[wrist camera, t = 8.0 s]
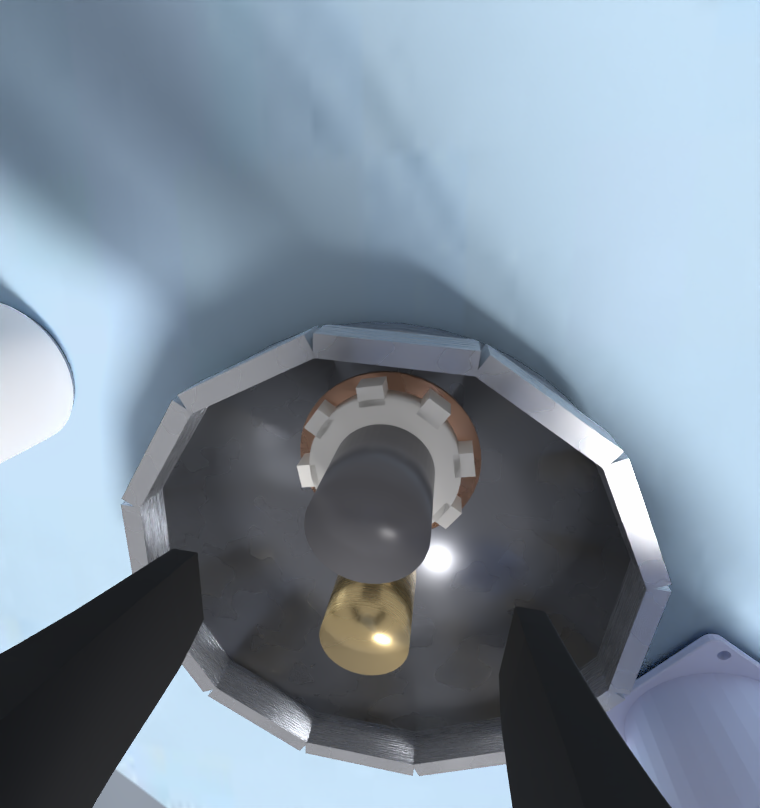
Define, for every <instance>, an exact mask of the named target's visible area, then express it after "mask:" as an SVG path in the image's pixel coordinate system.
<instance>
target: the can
mask: <svg viewBox="0 0 760 808" xmlns="http://www.w3.org/2000/svg"><path fill="white" fill-rule="evenodd" d="M73 402H74V380H73V376H72V372H71V369H70V366H69V364H68V361H67V359H66V357H65V355H64V353H63V352H62V350H61V349H60V347H59V346H58V344H57V343H56V342H55V340H54V339H53V338H52V337H51V336H50V334H49V333H48V332H47V331H46V330H45V329H44V328H42V327H41V326H40V325H39V324H38V323H36V322H35V321H34V320H32V319H31V318H29V317H28V316H26V315H24V314H23V313H21V312H19V311H18V310H16V309H14V308H12V307H10V306H7V305H5V304H2V303H0V463H2V462H4V461H6V460H8V459H10V458H12V457H14V456H16V455H18V454H20V453H22V452H24V451H25V450H27V449H29V448H31V447H33V446H35V445H37V444H39V443H41V442H42V441H44V440H46V439H48V438H50V437H51V436H53V435H55V434H56V433H57V432H59V431H60V430H61V429H62V428H63V427H64V425H65V424H66V422H67V421H68V419H69V417H70V414H71V411H72V407H73Z"/></svg>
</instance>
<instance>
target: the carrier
mask: <svg viewBox="0 0 760 808" xmlns="http://www.w3.org/2000/svg"><path fill="white" fill-rule="evenodd" d="M384 376H386V377H387V383H388V390H397V391H402V392H406V393H409V394H412V395H415V396H417V397H419V398H421V399H422V398H423V396H424V395H425V394H426V393H427V392H428V391H429V389H430V388H431V389H432V390H433V391H435V392H436V393H437V394H439V395H440V396H441V397H443V398H444V399H445V400H447V401H448V402H449V403H451V415H450V416H449V417H448V418H447V420H448V422H449V423H450V425H451V426H452V428H453V430H454V432H455V434H456V436H457V439H458V441H468V440H472V444H473V454H474V464H475V475H476V477H461V483H460V487H459V490H458V493H457V495H458V496H459V497H460V498H461V505H462V514H461V515H460V516H459V517H458V518H457V519H456V520H455V521H454V522H453V523H452V524H451V525H450V526H449V527H448V528H446V529H445V528H443V527H442V526H441V525H439V524H438V523H436V522H434V523H432V528H431V541H430V547H429V551H428V553H427V555H426V558H425V559H424V561H423V562H422V564H421V565H420V566H419V567H418V568H417V569H416V570H415V571H413V572H412V573H411V574H409V575H408V576H406V577H404V578H402V579H400V580H397V581H393V582H389V583H383V584H367V583H360V582H356V581H352V580H350V579H347V578H344V577H342V576H340V575H338V574H336V573H335V572H333V571H331V570H330V569H329V568H328V567H326V566H325V565H324V564H323V563H322V562H321V561H320V560H319V559H318V558H317V557H316V555H315V554H314V553H313V551H312V550H311V548H310V546H309V544H308V541H307V538H306V535H305V530H304V518H305V513H306V509H307V507H308V505H309V503H310V501H311V499H312V497H313V495H314V493H315V491H316V489H315V487H302V486H301V482H300V478H299V473H298V469H297V465H298V463H299V461H300V460H301V458H302V457H303V455H304V454H305V453H310V450H311V446H312V443H313V440H314V438H315V435H313V434H312V433H310V432H309V431H308V430H306V429H305V428H304V427H305V425H306V424H307V423H308V421H309V420H310V419H311V417H312V416H313V415H314V413H315V412H316V410H317V409H318V408H319V406H320V405H321V404H322V402H323V401H324V400H325V399H326V400H327V401H328V402H330V403H331V404H333V405H334V406H335V407H337V406H338V405H339V404H340V403H342V402H343V401H345V400H346V399H348V398H350V397H352V396H354V395H356V394H357V393H356V387H357V385H358V384H359V382H360V380H361V379H365V378H375V377H384ZM122 499H123V500H125V502H124V503H122V504H121V508H122V514H123V520H124V526H125V532H126V538H127V544H128V550H129V556H130V562H131V568H132V574H133V573H135V572H136V571H138V570H140V569H141V568H143V567H144V566H146V565H147V564H149V563H150V562H152V561H154V560H155V559H157V558H158V557H160V556H161V555H163V554H165V553H166V552H168V551H170V550H171V549H173V548H174V549H180V550H186V551H192V552H197V553H198V562H199V572H200V583H201V593H202V604H203V614H204V620H203V622H202V625H201V627H200V629H199V631H198V633H197V635H196V637H195V639H194V641H193V643H192V645H191V647H190V649H189V651H188V653H187V655H186V657H185V659H184V661H183V663H182V665H183V666H184V667H185V669H186V670H187V671H188V673H189V674H190V675H191V677H192V678H193V679H194V680H195V682H196V683H197V684H198V686H199V687H200V688H201V689H202V691H203V692H204V691H209V690H211V691H210V693H209V695H208V696H209V697H211V698H212V699H214V700H216V701H218V702H219V703H221V704H223V705H224V706H226V707H228V708H229V709H231V710H233V711H234V712H236V713H238V714H239V715H241V716H243V717H244V718H246V719H248V720H249V721H251V722H253V723H254V724H256V725H258V726H259V727H261V728H263V729H264V730H266V731H268V732H269V733H271V734H273V735H274V736H276V737H278V738H279V739H281V740H283V741H284V742H286V743H288V744H289V745H291V746H293V747H295V748H296V749H298V750H301V749H302V748H303V747H304V746H305V745H306V753H308V754H313V755H318V756H322V757H327V758H332V759H336V760H341V761H346V762H351V763H355V764H360V765H365V766H369V767H374V768H379V769H383V770H388V771H393V772H397V773H402V774H407V775H412V776H413V770H414V769H415V770H416V772H417V774H418V775H419V776H423V775H430V774H437V773H445V772H452V771H459V770H466V769H474V768H481V767H488V766H496V765H503V764H506V758H505V751H504V744H503V737H502V730H501V714H500V692H499V671H500V667H501V663H502V659H503V655H504V651H505V646H506V642H507V638H508V634H509V630H510V626H511V622H512V618H513V613H514V609H515V606H517V607H523V608H529V609H535V610H540V611H545V612H546V614H547V615H548V616H549V618H550V620H551V621H552V623H553V625H554V627H555V629H556V630H557V632H558V634H559V636H560V638H561V639H562V641H563V643H564V645H565V646H566V648H567V650H568V652H569V653H570V655H571V657H572V658H573V660H574V662H575V663H576V665H577V667H578V669H579V670H580V672H581V674H582V675H583V677H584V679H585V680H586V682H587V683H588V685H589V687H590V688H591V690H592V692H593V693H594V695H595V696H596V698H597V699H598V701H599V703H600V704H601V706H602V707H603V709H604V710H605V712H607V711H609V710H610V709H612V708H613V707H615V706H616V705H618V704H620V703H621V702H623V701H624V700H625V698H624V695H623V694H627V695H630V693H631V690H632V688H633V685H634V683H635V680H636V678H637V675H638V673H639V671H640V668H641V666H642V663H643V661H644V658H645V656H646V653H647V651H648V648H649V646H650V643H651V641H652V639H653V636H654V634H655V631H656V629H657V626H658V624H659V621H660V619H661V616H662V614H663V611H664V609H665V607H666V604H667V602H668V599H669V597H670V594H671V590H670V588H669V587H668V585H672V584H671V581H670V578H669V575H668V572H667V569H666V566H665V563H664V560H663V557H662V554H661V551H660V548H659V545H658V542H657V540H656V537H655V534H654V531H653V528H652V525H651V522H650V519H649V516H648V513H647V510H646V507H645V504H644V501H643V498H642V495H641V493H640V490H639V487H638V484H637V481H636V478H635V475H634V472H633V469H632V466H631V463H630V460H629V458H628V457H627V456H626V454H625V453H624V451H623V450H622V449H621V448H620V446H619V445H618V444H617V443H616V441H615V440H614V439H613V437H612V436H611V435H610V434H609V432H608V431H606V430H605V429H604V428H602V427H601V426H600V425H598V424H597V423H595V422H594V421H593V420H591V419H590V418H589V417H587V416H586V415H584V414H583V413H582V412H580V411H579V410H578V409H577V408H576V407H575V406H574V405H573V404H572V403H571V402H570V400H569V399H568V398H567V397H566V396H564V395H563V394H562V393H561V392H560V391H559V390H557V389H556V388H555V387H554V386H553V385H551V384H550V383H549V382H548V381H547V380H545V379H544V378H543V377H542V376H541V375H539V374H538V373H536V372H535V371H533V370H531V369H530V368H528V367H527V366H525V365H523V364H522V363H520V362H519V361H517V360H516V359H514V358H512V357H511V356H509V355H507V354H505V353H503V352H500V351H498V350H496V349H494V348H492V347H491V346H490V345H488V344H486V345H485V344H483V343H481V342H478V340H473V339H470V338H467V337H463V336H460V335H457V334H453V333H450V332H447V331H444V330H440V329H434V328H428V327H422V326H416V325H410V324H405V323H377V322H365V323H355V324H345V325H329V324H325V325H324V326H322V327H321V328H320V329H318V327H317V326H315V327H313V328H311V329H309V330H307V331H305V332H302V333H300V334H298V335H296V336H293V337H290V338H288V339H285V340H283V341H280V342H278V343H275V344H273V345H270V346H269V347H267V348H265V349H263V350H262V351H260V352H258V353H257V354H255V355H253V356H251V357H250V358H248V359H246V360H244V361H242V362H240V363H238V364H236V365H233V366H231V367H229V368H227V369H225V370H223V371H221V372H219V373H217V374H215V375H213V376H210V377H208V378H206V379H204V380H202V381H200V382H198V383H197V384H195V385H193V386H192V387H190V388H188V389H187V390H185V391H183V392H182V393H180V394H178V397H176V398H175V399H173V400H172V402H171V403H170V405H169V407H168V409H167V411H166V413H165V415H164V417H163V419H162V421H161V423H160V425H159V427H158V429H157V431H156V433H155V435H154V437H153V439H152V441H151V442H150V444H149V446H148V448H147V450H146V452H145V454H144V456H143V458H142V460H141V462H140V464H139V466H138V468H137V470H136V472H135V474H134V476H133V478H132V480H131V481H130V483H129V485H128V487H127V489H126V491H125V493H124V495H123V497H122Z"/></svg>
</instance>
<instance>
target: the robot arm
mask: <svg viewBox="0 0 760 808" xmlns="http://www.w3.org/2000/svg"><path fill="white" fill-rule="evenodd" d="M203 620H204V614H203V604H202V593H201V583H200V572H199V562H198V553H197V552H192V551H186V550H180V549H174V548H173V549H171V550H170V551H168V552H166V553H165V554H163V555H161V556H160V557H158V558H157V559H155V560H154V561H152V562H150V563H149V564H147V565H146V566H144V567H143V568H141V569H140V570H138V571H136V572H135V573H133V574H132V575H130V576H129V577H127V578H126V579H124V580H123V581H121V582H119V583H118V584H116V585H115V586H113V587H112V588H110V589H108V590H107V591H105V592H104V593H102V594H101V595H99V596H97V597H96V598H94V599H93V600H91V601H89V602H88V603H86V604H85V605H83V606H82V607H80V608H78V609H77V610H75V611H74V612H72V613H70V614H68V615H67V616H65V617H63V618H62V619H60V620H58V621H57V622H55V623H53V624H51V625H50V626H48V627H46V628H45V629H43V630H41V631H40V632H38V633H36V634H34V635H33V636H31V637H29V638H28V639H26V640H24V641H23V642H21V643H19V644H17V645H16V646H14V647H12V648H10V649H8V650H7V651H5V652H3V653H1V654H0V808H92V807H93V806H94V804H95V802H96V800H97V798H98V797H99V795H100V793H101V791H102V790H103V788H104V787H105V785H106V783H107V782H108V780H109V778H110V776H111V775H112V773H113V772H114V770H115V769H116V767H117V765H118V764H119V762H120V761H121V759H122V758H123V756H124V755H125V753H126V751H127V750H128V748H129V747H130V745H131V744H132V742H133V741H134V739H135V737H136V736H137V734H138V733H139V731H140V730H141V728H142V726H143V725H144V723H145V722H146V720H147V719H148V717H149V716H150V714H151V712H152V711H153V709H154V708H155V706H156V705H157V703H158V702H159V700H160V698H161V697H162V695H163V694H164V692H165V690H166V689H167V687H168V686H169V684H170V683H171V681H172V679H173V678H174V676H175V675H176V673H177V671H178V670H179V668H180V667H181V665H182V663H183V661H184V659H185V657H186V655H187V653H188V651H189V649H190V647H191V645H192V643H193V641H194V639H195V637H196V635H197V633H198V631H199V629H200V627H201V625H202V622H203ZM499 692H500V714H501V730H502V737H503V744H504V751H505V758H506V765H507V772H508V779H509V786H510V793H511V800H512V806H513V808H760V663H759V662H757V661H756V660H754V659H753V658H751V657H750V656H749V655H747V654H746V653H744V652H743V651H741V650H740V649H739V648H737V647H736V646H734V645H733V644H731V643H730V642H728V641H727V640H726V639H724V638H723V637H721V636H719V635H717V634H706V635H704V636H702V637H700V638H699V639H697V640H696V641H694V642H693V643H691V644H690V645H688V646H687V647H685V648H684V649H682V650H681V651H679V652H678V653H676V654H675V655H673V656H671V657H670V658H668V659H667V660H665V661H664V662H662V663H661V664H659V665H658V666H656V667H655V668H653V669H652V670H650V671H649V672H647V673H646V674H644V675H643V676H641V677H640V678H638V679H637V680H635V683H634V685H633V688H632V690H631V693H630V695H627V694H623V695H624V698H625V700H624V701H623V702H621V703H620V704H618V705H616V706H615V707H613V708H612V709H610V710H609V711H607V712H605V710H604V709H603V707H602V706H601V704H600V703H599V701H598V699H597V698H596V696H595V695H594V693H593V692H592V690H591V688H590V687H589V685H588V683H587V682H586V680H585V679H584V677H583V675H582V674H581V672H580V670H579V669H578V667H577V665H576V663H575V662H574V660H573V658H572V657H571V655H570V653H569V652H568V650H567V648H566V646H565V645H564V643H563V641H562V639H561V638H560V636H559V634H558V632H557V630H556V629H555V627H554V625H553V623H552V621H551V620H550V618H549V616H548V615H547V614H546V612H545V611H540V610H535V609H529V608H523V607H517V606H515V609H514V613H513V618H512V622H511V626H510V630H509V634H508V638H507V642H506V646H505V651H504V655H503V659H502V663H501V667H500V671H499Z"/></svg>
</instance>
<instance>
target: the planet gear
mask: <svg viewBox="0 0 760 808" xmlns="http://www.w3.org/2000/svg"><path fill="white" fill-rule="evenodd" d="M356 393H357V394H356V395H354V396H352V397H350V398H348V399H346V400H345V401H343V402H342V403H340V404H339V405H338V406H337V407H335V406H334V405H333V404H331V403H330V402H328V401H327V400H326V399H325V400H324V401H323V402H322V404H321V405H320V406H319V408H318V409H317V410H316V412H315V413H314V415H313V416H312V417H311V419H310V420H309V421H308V423H307V424H306V425H305V427H304V428H305V429H306V430H308V431H309V432H310V433H312V434H313V435H315V438H314V440H313V443H312V446H311V450H310V453H305V454H304V455H303V457H302V458H301V460H300V461H299V463H298V465H297V469H298V473H299V478H300V482H301V486H302V487H315V489H316V491H315V493H314V495H313V497H312V499H311V501H310V503H309V505H308V507H307V509H306V513H305V518H304V530H305V535H306V538H307V541H308V544H309V546H310V548H311V550H312V551H313V553H314V554H315V555H316V557H317V558H318V559H319V560H320V561H321V562H322V563H323V564H324V565H325V566H326V567H328V568H329V569H330V570H331V571H333V572H335V573H336V574H338V575H340V576H342V577H344V578H347V579H350V580H352V581H356V582H360V583H367V584H383V583H389V582H393V581H397V580H400V579H402V578H404V577H406V576H408V575H409V574H411V573H412V572H413V571H415V570H416V569H417V568H418V567H419V566H420V565H421V564H422V562H423V561H424V559H425V558H426V555H427V553H428V551H429V547H430V541H431V528H432V523H434V522H436V523H438V524H439V525H441V526H442V527H443V528H445V529H446V528H448V527H449V526H450V525H451V524H452V523H453V522H454V521H455V520H456V519H457V518H458V517H459V516H460V515H461V514H462V505H461V498H460V497H459V496H458V495H457V493H458V490H459V487H460V483H461V477H476V475H475V464H474V454H473V444H472V440H468V441H458V439H457V436H456V434H455V432H454V430H453V428H452V426H451V425H450V423H449V422H448V420H447V418H448V417H449V416H450V415H451V403H449V402H448V401H447V400H445V399H444V398H443V397H441V396H440V395H439V394H437V393H436V392H435V391H433V390H432V389H431V388H430V389H429V391H428V392H427V393H426V394H425V395H424V396H423V398H422V399H421V398H419V397H417V396H415V395H412V394H409V393H406V392H402V391H397V390H388V383H387V377H386V376H384V377H375V378H365V379H361V380H360V382H359V384H358V385H357V387H356Z"/></svg>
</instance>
